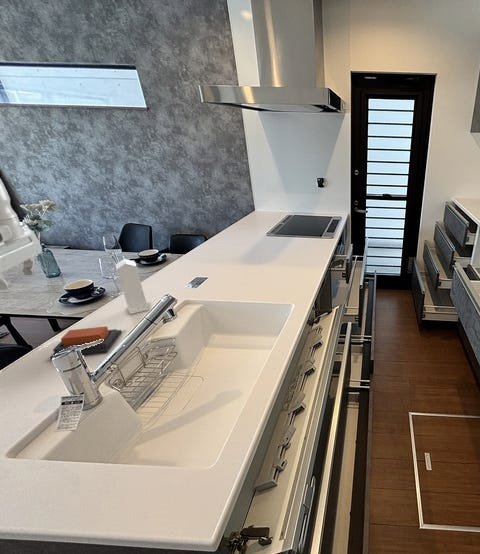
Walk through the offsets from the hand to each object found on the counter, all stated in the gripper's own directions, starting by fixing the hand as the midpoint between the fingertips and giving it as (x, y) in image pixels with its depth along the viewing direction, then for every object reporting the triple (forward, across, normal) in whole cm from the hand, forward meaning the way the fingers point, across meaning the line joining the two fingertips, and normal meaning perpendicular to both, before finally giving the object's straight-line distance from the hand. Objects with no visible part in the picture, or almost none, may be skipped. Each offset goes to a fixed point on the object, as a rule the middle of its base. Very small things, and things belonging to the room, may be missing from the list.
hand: (18, 281), depth 80 cm
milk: (+27, -31, +12) cm, 43 cm away
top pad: (+26, -8, +5) cm, 28 cm away
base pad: (+27, -8, +5) cm, 29 cm away
